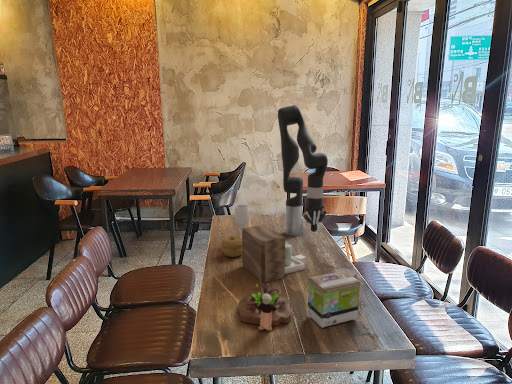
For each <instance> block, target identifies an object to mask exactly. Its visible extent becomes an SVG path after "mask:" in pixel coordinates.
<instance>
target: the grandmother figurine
mask: <svg viewBox="0 0 512 384" xmlns="http://www.w3.org/2000/svg"><path fill="white" fill-rule="evenodd" d="M262 299H263V303H261V304H260V305H259V306H258V307H257V309H256V311H255V312H256V313H258V312H259V310H262V311H261V319H260V325H259V326H258V330H262V331H263V330H264V329H265V330H266V331H272V326H273V325H272V312H271V310H273V311H274V312H275V314H276V315H278V312H277V308H276V307H275V306H274V305H272V304H270V301H271V300H272V297H271V296H270V295H269V294H263V296H262Z"/></svg>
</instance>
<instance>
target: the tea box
mask: <svg viewBox="0 0 512 384" xmlns="http://www.w3.org/2000/svg"><path fill="white" fill-rule="evenodd" d="M360 290H361V281H360V280H359V279H357V278H354V277H353V276H351V275H350V274H348V273H347V272H345V271H339V272H330V273H325V274H319V275H315V276H310V277H309V279H308V295H307V312H306V313H307V315H308V316H309V317H310V318H311V319H312V320H313V321H314V322H315V323H316V324H317V325H318V326H319V327H321V329H323V328H325V327H329V326H333V325H337V324H340V323H345V322H349V321H352V320H356V319H358V317H359V316H358V313H359V306H360V305H359V304H360V292H361V291H360Z"/></svg>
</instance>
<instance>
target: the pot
mask: <svg viewBox="0 0 512 384" xmlns="http://www.w3.org/2000/svg"><path fill="white" fill-rule="evenodd" d="M220 244H221V248H220V249H221V252H222V254H223V255H224V256H226V257H229V258H230V257H231V258H235V257H239V256H241V255H243V245H242V238H241V236H238V235H230V236H225V237H224V238H222V240H221V242H220Z"/></svg>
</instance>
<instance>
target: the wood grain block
mask: <svg viewBox="0 0 512 384" xmlns="http://www.w3.org/2000/svg"><path fill="white" fill-rule="evenodd" d="M285 244H286V236H284V235H282V234H280V233H278V232H277V231H275V230H273V229H272V228H269V226H266V225H265V224H261V225H255V226H254V225H253V226H249V227H243V228H242V245H243V253H242V267H244V269H245V270H247V271H248V272H249V273H250V274H251V275H253V276H254V277H255V278H256V279H257V280H259V282H261V283H262V284H264V283H267V282H271V281H275V280H279V279H284V278H286V276H285V275H286V274H285Z"/></svg>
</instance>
